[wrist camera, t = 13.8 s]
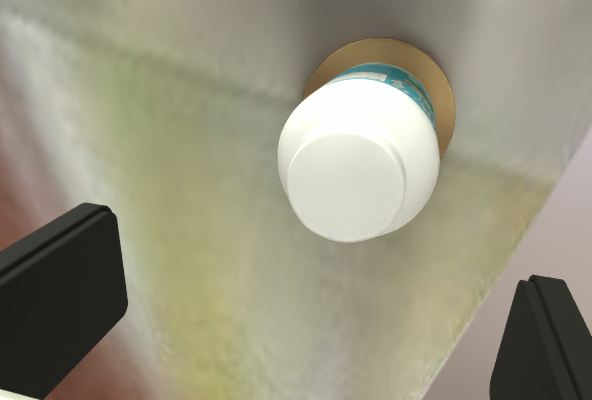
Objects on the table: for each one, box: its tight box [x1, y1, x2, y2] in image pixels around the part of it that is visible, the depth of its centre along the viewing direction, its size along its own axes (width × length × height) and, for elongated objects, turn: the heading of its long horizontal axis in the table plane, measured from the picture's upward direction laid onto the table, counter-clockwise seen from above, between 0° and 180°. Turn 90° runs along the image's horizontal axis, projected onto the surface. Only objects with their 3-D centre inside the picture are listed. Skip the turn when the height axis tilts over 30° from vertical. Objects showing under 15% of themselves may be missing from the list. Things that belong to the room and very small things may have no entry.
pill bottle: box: [277, 62, 440, 243], centre depth 24 cm, size 8×7×14 cm
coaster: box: [302, 38, 455, 159], centre depth 30 cm, size 10×10×1 cm
